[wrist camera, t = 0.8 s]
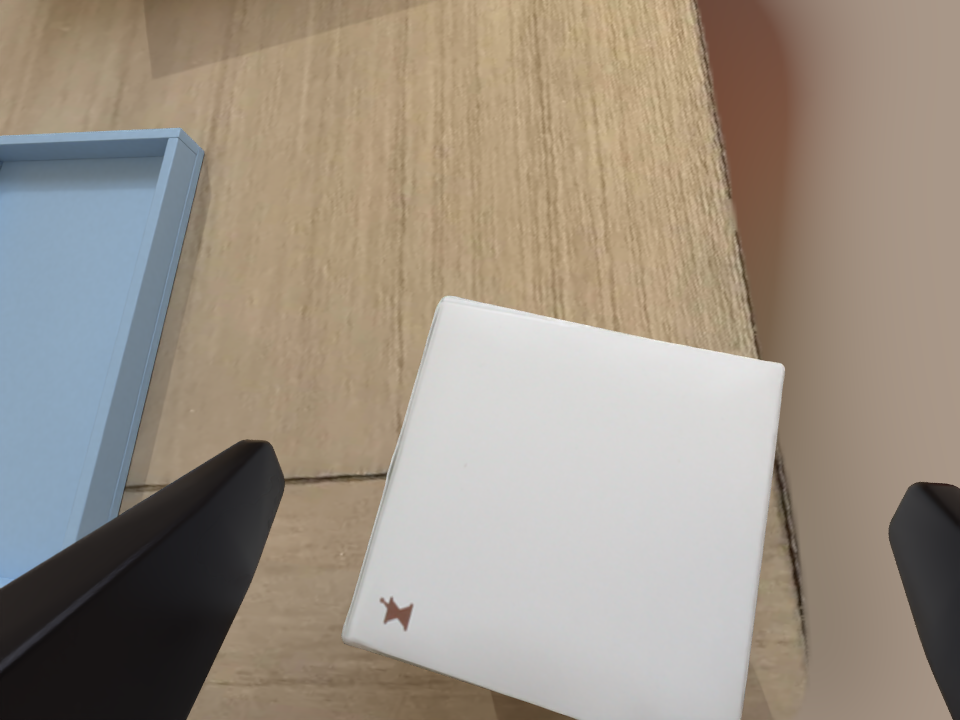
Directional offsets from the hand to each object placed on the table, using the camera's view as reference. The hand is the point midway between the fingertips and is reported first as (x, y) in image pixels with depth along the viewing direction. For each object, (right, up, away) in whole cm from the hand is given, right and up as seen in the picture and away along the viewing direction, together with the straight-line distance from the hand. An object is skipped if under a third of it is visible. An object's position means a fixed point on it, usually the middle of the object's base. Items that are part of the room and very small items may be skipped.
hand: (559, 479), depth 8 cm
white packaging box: (+2, -4, +14) cm, 15 cm away
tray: (-24, +2, +20) cm, 31 cm away
